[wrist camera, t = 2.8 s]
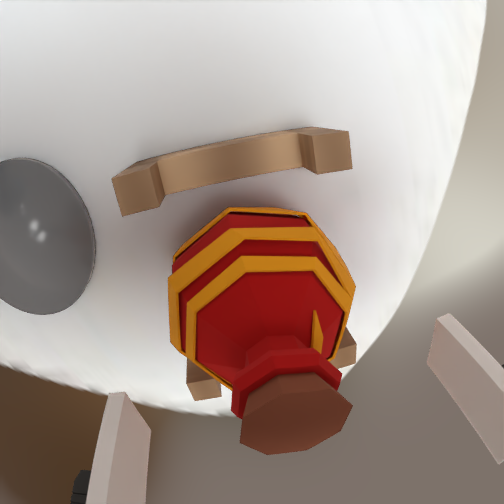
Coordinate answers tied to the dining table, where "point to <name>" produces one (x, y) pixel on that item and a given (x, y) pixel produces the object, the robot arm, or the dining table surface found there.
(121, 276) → the dining table surface
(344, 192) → the dining table surface
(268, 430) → the potion bottle
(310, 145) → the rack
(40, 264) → the coaster
